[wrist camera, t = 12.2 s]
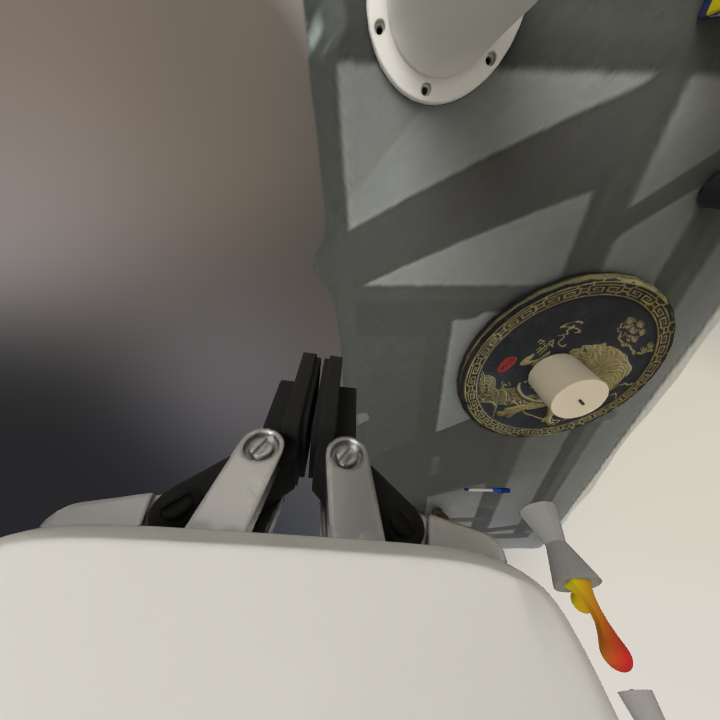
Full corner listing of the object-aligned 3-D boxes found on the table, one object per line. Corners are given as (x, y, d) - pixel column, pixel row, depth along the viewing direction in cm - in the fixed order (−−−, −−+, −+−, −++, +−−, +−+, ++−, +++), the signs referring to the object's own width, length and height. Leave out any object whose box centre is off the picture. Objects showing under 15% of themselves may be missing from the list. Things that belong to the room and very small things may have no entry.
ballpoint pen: (509, 487, 62) (511, 491, 61) (508, 489, 62) (510, 493, 62) (464, 487, 62) (465, 491, 61) (463, 489, 62) (464, 493, 61)
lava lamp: (526, 501, 65) (659, 760, 36) (563, 500, 65) (726, 759, 36) (514, 519, 70) (622, 758, 41) (548, 518, 70) (681, 758, 41)
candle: (545, 349, 38) (577, 379, 33) (588, 357, 39) (627, 388, 33) (519, 386, 42) (543, 419, 36) (559, 393, 43) (589, 425, 37)
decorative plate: (419, 391, 42) (613, 219, 29) (417, 383, 44) (600, 216, 30) (531, 457, 53) (713, 355, 39) (526, 449, 54) (700, 347, 40)
